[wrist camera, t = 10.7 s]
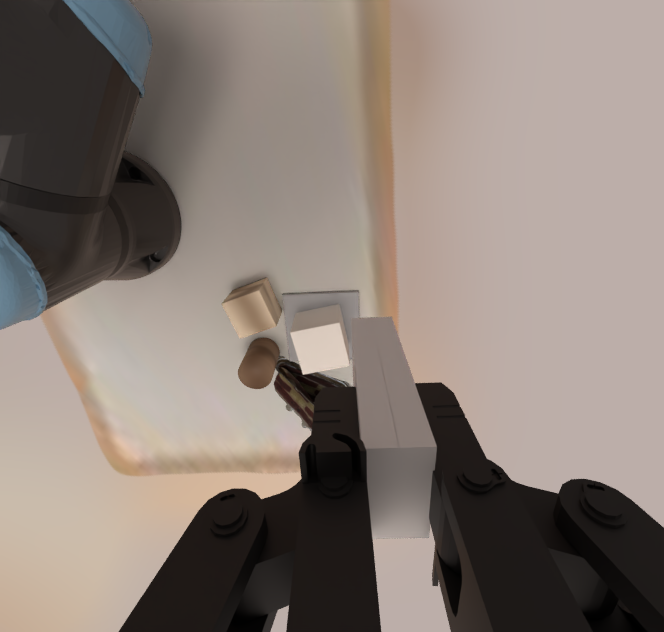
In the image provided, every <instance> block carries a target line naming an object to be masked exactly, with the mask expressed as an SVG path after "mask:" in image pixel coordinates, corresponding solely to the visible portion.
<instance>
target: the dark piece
mask: <svg viewBox="0 0 664 632" xmlns="http://www.w3.org/2000/svg"><path fill="white" fill-rule="evenodd" d="M276 370H277V371H278V372H279V374H278V375H277V378H276V381H275V382H274V386H275V390H276V392H277V393H278V394H279V396H280V397H281V398H282V399H283V400H284V401H285V402H286V403H287V405H286V408H287V410H288V411H292V410H294V412H295V413H296V414H297V415H298V416H299V417H300V418H301V420H302V427H303V428H309V429H310V431H312V424H313V413H314V402H315V397H316V396H317V395H318V393H319V392H320V391H321V389H322V388H325V387H349V385H348V384H347V383H346V382H345V381H341V380H338V379H335V378H332V377H329V376H327V375H324V374H321V373H319V372H315V373H309V374H304V375H303V373H302V370H301V367H300V365H299V364H296V363H295V362H292V361H288V360H286V359H285V357H283V356H282V357H279V358H278V361H277V364H276Z"/></svg>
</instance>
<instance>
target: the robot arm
mask: <svg viewBox="0 0 664 632" xmlns="http://www.w3.org/2000/svg"><path fill="white" fill-rule="evenodd" d="M151 51H152V38H151V34H150V31H149V29H148V26H147V24H146V22H145V20H144V19H143V17H142V16H141V14H140V13H139V11H138V10H137V9H136V8H135V6H134V5H133V4H132V3H131V2H130V1H129V0H0V330H1V329H4V328H6V327H9V326H11V325H13V324H16V323H18V322H21V321H24V320H31V319H34V318H36V317H37V316H39V315H40V314H41V313H43V311H45V310H47V309H49V308H51V307H53V306H54V305H56V304H58V303H60V302H62V301H64V300H66V299H68V298H70V297H72V296H74V295H76V294H78V293H80V292H82V291H84V290H86V289H88V288H90V287H92V286H94V285H96V284H97V283H99V282H101V281H103V280H132V279H137V278H141V277H144V276H146V275H149V274H151V273H152V272H154V271H156V270H157V269H159V268H161V267H162V266H163V265H165V264H166V263H167V262H168V261H169V260H170V258H171V257H172V256H173V254H174V252H175V251H176V249H177V246H178V243H179V239H180V233H181V220H180V213H179V209H178V206H177V203H176V200H175V198H174V196H173V194H172V192H171V190H170V188H169V187H168V185H167V184H166V182H165V181H164V180H163V179H162V177H161V176H160V175H159V174H158V173H157V172H156V171H155V170H154V169H153V168H152V167H151V166H149V165H148V164H147V163H146V162H144V161H143V160H141V159H140V158H138V157H136V156H134V155H132V154H130V153H127V152H125V151H124V149H125V145H126V142H127V138H128V135H129V132H130V128H131V125H132V122H133V118H134V115H135V112H136V108H137V105H138V101H139V98H143V96H144V93H145V88H144V85H143V84H144V80H145V76H146V72H147V68H148V64H149V60H150V56H151ZM351 328H352V360H353V386H354V387H325V388H322V389H321V391H320V392H319V393H318V395H317V396H316V397H315V402H314V413H313V424H312V433H311V436H310V437H309V438H308V439H307V440H306V441H305V442H303V443H302V446H301V449H300V451H299V459H300V468H301V477H302V479H301V480H300V481H299V482H298V483H297V484H296V485H295V486H293V487H292V488H290V489H289V490H287V491H284V492H282V493H280V494H277V495H274V496H271V497H268V498H264V499H260V497H259V496H258V495H257V494H256V493H255V492H252V491H250V490H247V489H230V490H227V491H224V492H221V493H219V494H217V495H216V496H214V497H213V498H211V499H209V500H208V501H207V502H206V503H205V504H204V505H203V507H202V508H201V509H200V510H199V511H198V513H197V514H196V516H195V517H194V519H193V520H192V522H191V523H190V525H189V526H188V528H187V529H186V531H185V532H184V534H183V535H182V537H181V538H180V540H179V541H178V543H177V544H176V546H175V547H174V549H173V550H172V552H171V553H170V555H169V557H168V558H167V560H166V561H165V562H164V564H163V566H162V567H161V569H160V570H159V571H158V573H157V575H156V576H155V578H154V579H153V581H152V582H151V584H150V585H149V587H148V588H147V590H146V591H145V593H144V595H143V596H142V597H141V599H140V600H139V602H138V603H137V605H136V606H135V608H134V609H133V611H132V612H131V614H130V615H129V617H128V618H127V620H126V621H125V623H124V625H123V626H122V627H121V629H120V631H119V632H270V631H271V628H272V625H273V622H274V619H275V616H276V613H277V610H278V609H281V608H283V607H286V606H288V605H289V612H288V621H287V631H286V632H381V625H380V615H379V604H378V593H377V582H376V572H375V563H374V551H373V542H372V541H373V540H372V539H385V538H429V531H430V524H431V528H432V532H433V536H434V540H435V552H434V562H433V573H432V577H433V578H432V581H433V586H438V579H439V582H440V587H441V592H442V595H443V600H444V604H445V608H446V612H447V617H448V621H449V625H450V629H451V632H664V528H663V527H662V526H661V525H660V524H659V523H658V522H656V521H655V520H654V519H653V518H651V517H650V516H649V515H648V514H647V513H646V512H645V511H643V510H642V509H641V508H640V507H639V506H638V505H637V504H635V503H634V502H633V501H632V500H631V499H629V498H628V497H626V496H625V495H623V494H622V493H621V492H619V491H618V490H616V489H614V488H611V487H609V486H607V485H605V484H603V483H600V482H596V481H592V480H588V479H574V480H570V481H568V482H566V483H564V484H562V487H561V489H560V491H559V494H557V493H554V492H549V491H545V490H541V489H537V488H532V487H528V486H525V485H522V484H519V483H516V482H514V481H512V480H511V479H510V478H509V477H508V475H507V474H506V473H505V472H504V470H503V469H502V468H501V467H499V466H498V465H496V464H495V463H494V462H492V461H490V460H488V459H487V458H486V456H485V454H484V452H483V450H482V449H481V446H480V444H479V443H478V441H477V439H476V437H475V435H474V433H473V431H472V429H471V427H470V425H469V423H468V421H467V419H466V418H465V415H464V413H463V411H462V409H461V407H460V405H459V403H458V401H457V399H456V397H455V395H454V393H453V392H452V391H451V390H450V389H448V388H447V387H446V386H445V385H444V384H442V383H414V380H413V377H412V374H411V371H410V368H409V366H408V362H407V360H406V357H405V354H404V351H403V348H402V345H401V342H400V339H399V337H398V334H397V331H396V328H395V325H394V322H393V319H392V317H370V318H351Z"/></svg>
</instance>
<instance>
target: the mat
mask: <svg viewBox="0 0 664 632" xmlns="http://www.w3.org/2000/svg"><path fill="white" fill-rule="evenodd" d="M282 297H283V306H284V315H285V324H286V333H287V342H288V351H289V360H290V361H299V360H298V357H297V354H296V350H295V347H294V344H293V341H292V337H291V334H290V331H291V328H292V324H293V320H294V317H295V313H298V312H303V311H307V310H312V309H317V308H322V307H327V306H332V305H336V304H339V305H340V309H341V313H342V317H343V322H344V326H345V330H346V334H347V339H348V343H349V359H352V328H351V318H359V293H358V291H340V292H316V293H292V294H283V295H282Z"/></svg>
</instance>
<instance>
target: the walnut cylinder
mask: <svg viewBox="0 0 664 632" xmlns="http://www.w3.org/2000/svg"><path fill="white" fill-rule="evenodd" d="M279 354H280V351H279V347H278V345H277V344H276V343H275V342H274V341H272V340H271V339H268V338H258V339H256V340H254V341H253V342H252V343H251V344H250V346H249V348H248V350H247V352H246V354H245V356H244V359H243V361H242V363H241V365H240V367H239V369H238V376H239V379H240V381H241V382H242V383H243V384H244V385H246V386H247V387H250V388H253V389H261V388H264V387H266V386H267V385H269V384H270V382H271V380H272V377H273V374H274V371H275V368H276V364H277V361H278V358H279Z"/></svg>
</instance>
